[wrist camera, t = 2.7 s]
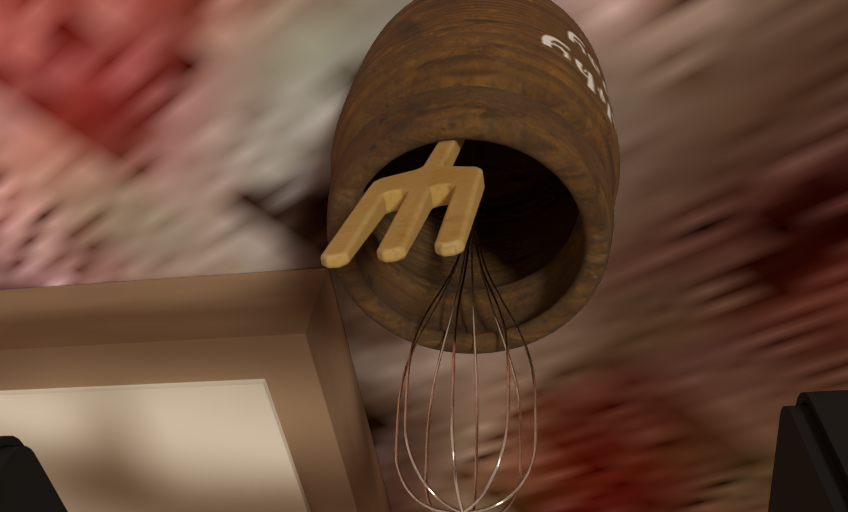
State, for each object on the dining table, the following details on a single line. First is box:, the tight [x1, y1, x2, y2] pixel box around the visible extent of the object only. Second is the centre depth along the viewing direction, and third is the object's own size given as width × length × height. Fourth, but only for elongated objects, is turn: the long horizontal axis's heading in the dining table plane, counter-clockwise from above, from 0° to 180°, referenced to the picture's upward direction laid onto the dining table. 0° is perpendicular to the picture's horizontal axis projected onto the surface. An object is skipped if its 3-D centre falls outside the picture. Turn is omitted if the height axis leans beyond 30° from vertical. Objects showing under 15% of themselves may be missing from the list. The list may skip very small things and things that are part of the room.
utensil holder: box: [321, 0, 620, 512], centre depth 15 cm, size 6×6×12 cm
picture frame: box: [0, 268, 391, 512], centre depth 26 cm, size 12×12×3 cm
